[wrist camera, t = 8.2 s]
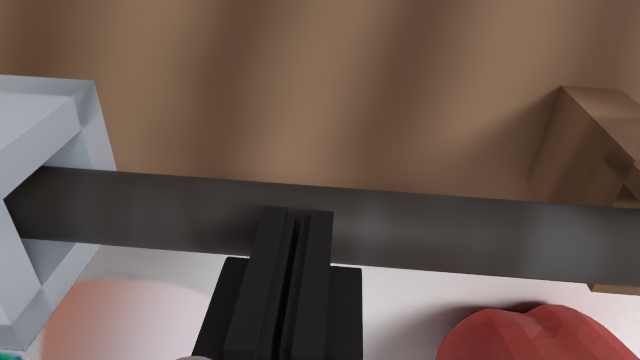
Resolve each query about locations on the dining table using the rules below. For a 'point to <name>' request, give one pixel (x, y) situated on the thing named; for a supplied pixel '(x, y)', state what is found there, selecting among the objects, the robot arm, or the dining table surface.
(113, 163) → the sleeve
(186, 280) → the dining table surface
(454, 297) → the dining table surface
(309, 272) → the robot arm
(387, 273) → the dining table surface
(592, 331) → the vegetable
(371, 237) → the rod stand
